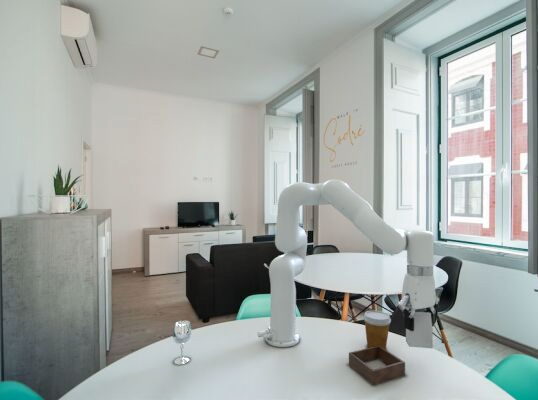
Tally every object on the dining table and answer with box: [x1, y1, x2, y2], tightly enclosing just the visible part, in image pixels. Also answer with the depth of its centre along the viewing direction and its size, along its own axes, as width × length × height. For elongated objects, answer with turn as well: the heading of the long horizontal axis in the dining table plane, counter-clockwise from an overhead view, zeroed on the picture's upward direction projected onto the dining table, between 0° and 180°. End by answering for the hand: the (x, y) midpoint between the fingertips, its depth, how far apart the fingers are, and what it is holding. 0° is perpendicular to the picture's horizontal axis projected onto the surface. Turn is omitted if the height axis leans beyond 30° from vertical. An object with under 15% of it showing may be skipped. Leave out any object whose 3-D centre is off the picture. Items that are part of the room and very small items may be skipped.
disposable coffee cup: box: [362, 310, 392, 350], centre depth 106 cm, size 10×10×12 cm
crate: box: [348, 346, 406, 386], centre depth 92 cm, size 12×11×4 cm
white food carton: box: [405, 310, 434, 349], centre depth 92 cm, size 4×7×10 cm, turn 83°
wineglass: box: [172, 320, 193, 366], centre depth 95 cm, size 6×6×12 cm
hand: (419, 326), depth 92 cm, fingers closed on white food carton, 7 cm apart
